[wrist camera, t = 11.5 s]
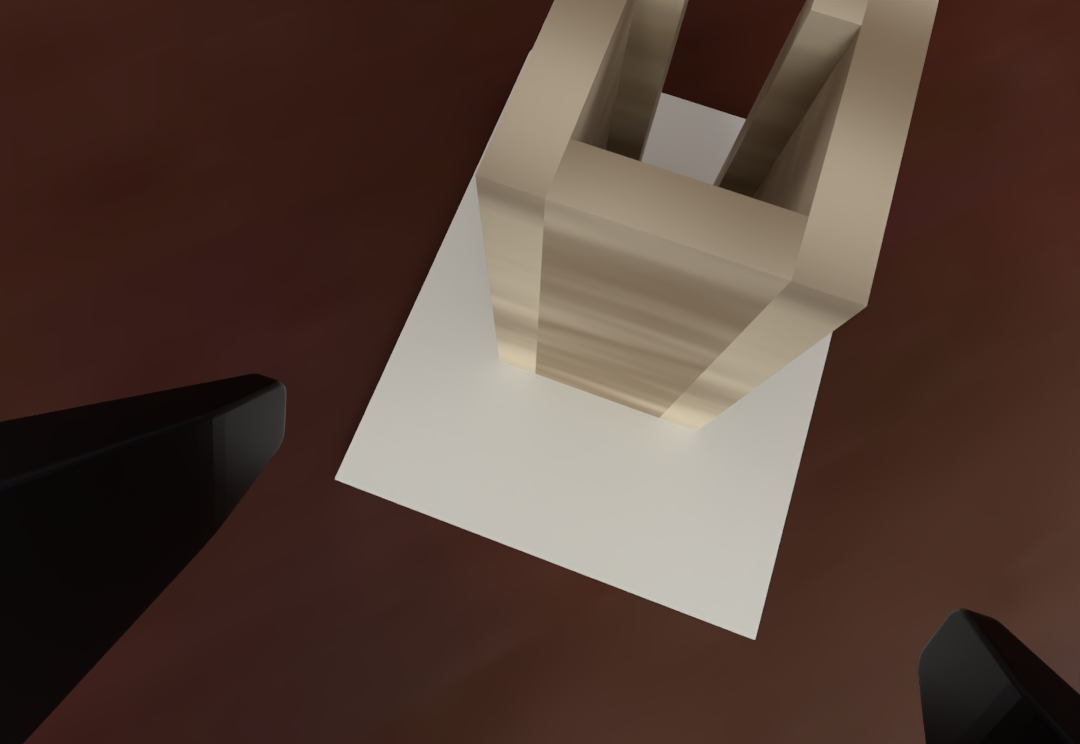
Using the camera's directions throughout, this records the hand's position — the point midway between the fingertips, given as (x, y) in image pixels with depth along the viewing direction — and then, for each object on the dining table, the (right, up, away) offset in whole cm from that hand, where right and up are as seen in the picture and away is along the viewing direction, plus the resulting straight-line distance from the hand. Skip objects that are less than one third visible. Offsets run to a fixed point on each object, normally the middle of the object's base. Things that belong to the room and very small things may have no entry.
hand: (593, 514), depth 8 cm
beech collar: (+2, +4, +14) cm, 15 cm away
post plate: (+2, +4, +15) cm, 16 cm away
